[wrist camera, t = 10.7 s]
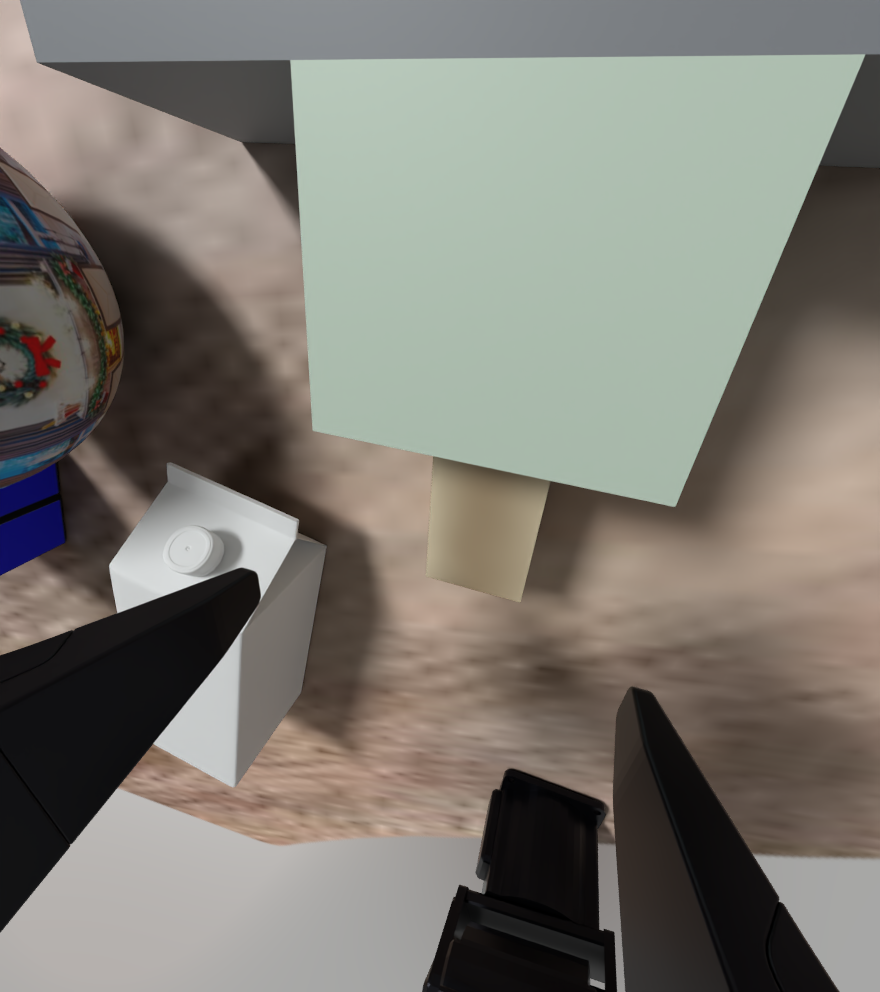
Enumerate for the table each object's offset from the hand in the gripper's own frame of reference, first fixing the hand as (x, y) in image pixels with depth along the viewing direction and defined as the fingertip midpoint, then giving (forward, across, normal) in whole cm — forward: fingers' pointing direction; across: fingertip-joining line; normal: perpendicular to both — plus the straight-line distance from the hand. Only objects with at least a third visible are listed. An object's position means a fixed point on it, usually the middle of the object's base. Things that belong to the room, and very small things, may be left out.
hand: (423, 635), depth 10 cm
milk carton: (+7, +15, +21) cm, 27 cm away
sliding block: (+11, 0, -7) cm, 13 cm away
